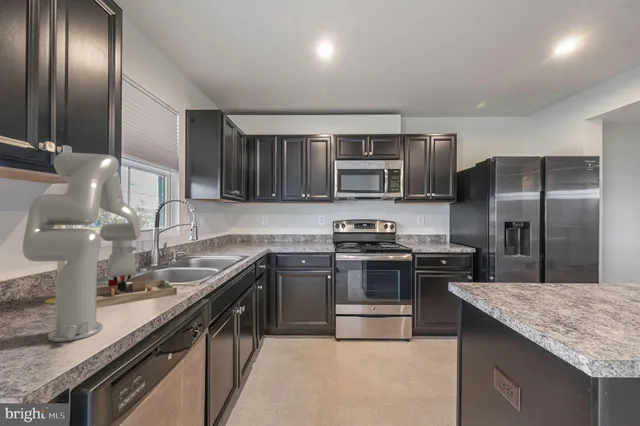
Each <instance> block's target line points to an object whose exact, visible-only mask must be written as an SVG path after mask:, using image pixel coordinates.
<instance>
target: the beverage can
mask: <svg viewBox="0 0 640 426" xmlns="http://www.w3.org/2000/svg"><path fill="white" fill-rule="evenodd" d="M123 278H124V276H120V279H121V281H122V282H123ZM107 280H108V279H107ZM107 283H108V285H107V287H108V286H115V285H118V282H116V281H115V280H108V282H107Z"/></svg>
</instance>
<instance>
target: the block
mask: <svg viewBox="0 0 640 426" xmlns="http://www.w3.org/2000/svg"><path fill="white" fill-rule="evenodd" d="M145 282H146V281H145V280H139V281H132V282H131V283H132V290H131V291H132V294H134V293H141V292H146V288H145Z"/></svg>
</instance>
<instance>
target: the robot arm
mask: <svg viewBox="0 0 640 426" xmlns="http://www.w3.org/2000/svg"><path fill="white" fill-rule="evenodd" d="M53 167H54V170H55V171H56V173H57V174H58V176H59V177H60V178H62V179H63V180H65V181H66V182H67V183H68V184H67V188H66V192H65V193H63V194H60V193H59V194H57V193H52V194H51V193H47V194H46V193H45V194H41V195H39V196H38V195H37V196H36V197H35V198H34V199H33V201H32V202H31V204H30V207H29V209H28V210H29V211H28V213H27V214H28V215H27V220H26V224H25V231H24V235H23V241H22V253H23V256H24V257H25V259H26V260H28V261H31V262H57V261H65V266H64V267H63V268H62V269H61V270H60V271H59V272H58V274H57V273H56V277H55V297H56V303H55V309H54V310H55V319H54V320H55V321H54V323H55V328H54V330H52V331H50V332H49V333H48V334H47V339H48V341H50V342H55V343H56V342H59V343H62V342H69V341H77V340H81V339H85V338H87V337H91V336H93V335H95V334H97V333H99V332H100V331H102V329H103V323H101V322H98V321H97V308H96V306H97V299H98V298H97V296H98V295H97V288H98V286H97V285H98V278H97V277H98V276H97V275H98V260H99V255H100V250H101V243H102V240H103V241H106V242H111V243H112V244H111V253H110V254H109V258H108V262H107V263H108V265H107V280H115V281H116V282H118V290H119V291H120V292H119V293H122V292H126V291H125V289H126V284H127V282H128V281H129V280H130V279H131V278H135V277H136V276H137V274H136V272H137V271H136V267H137V266H136V256H135V253H134V251H136V250H137V247H136V246H135V247H134V246H133V241H137V240H138V239H139V238H140V237H141V232H142V231H141V229H142V228H141V223H140V222H141V221H140V219H139V215H138V213H137V212H136V211H135V209H134V208H133V207H132V206H130V205H128V204H127V203H126V202H125V200H124V195H123V191H122V184H121V178H120V174H119V171H118V170H119V167H120V164H119V160H118V159H117V158H116V157H115V156H113V155H110V154H101V153H100V154H99V153H82V152H61V153H60V152H59V153H58V154H57V155H56V156H55V158H54V161H53ZM100 209H101V210H102V211H106V212H108V213H111V214H114V215H117V216H120V217H122V218H124V219H125V220H127V221H128V222H127V223H125V222H124V223H123V222H120V223H105V224H103V225H102V227H101V228H100V229H99V232H97V231H96V230H93V229H90V228H83V227H82V228H78V227H77V228H76V227H75V228H74V227H73V228H72V227H71V228H67V227H65V229H58V228H54V227H56V226H58V225H65V226H86V225H87V226H88V225H91V224H94V223H96V221H97V220H98V217H99V212H100ZM120 276H124V278H123V282H122V281H121V279H120Z"/></svg>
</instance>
